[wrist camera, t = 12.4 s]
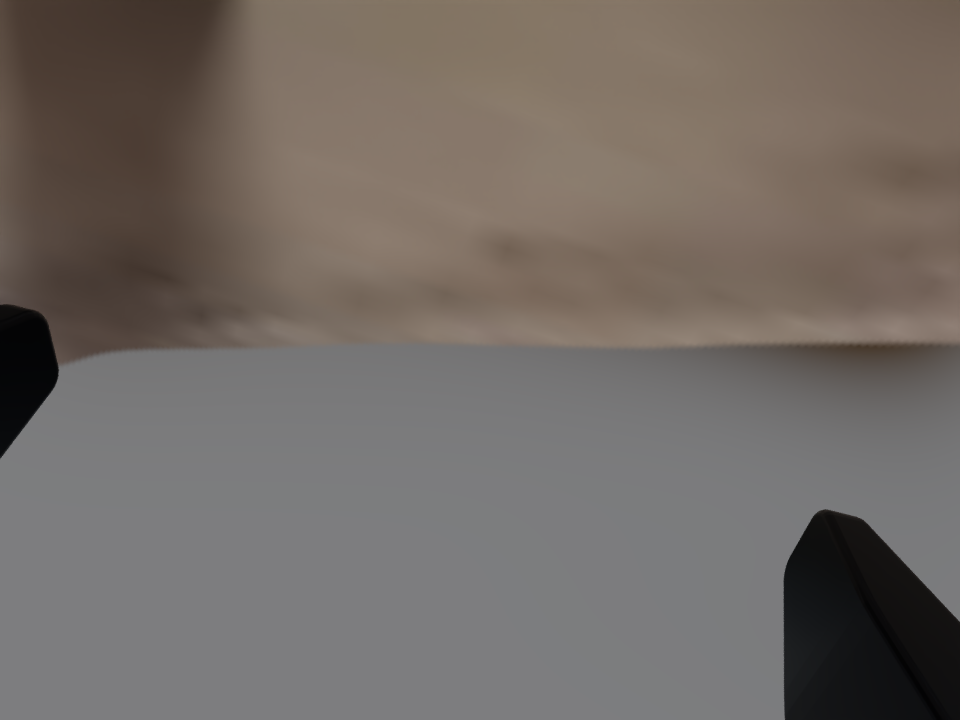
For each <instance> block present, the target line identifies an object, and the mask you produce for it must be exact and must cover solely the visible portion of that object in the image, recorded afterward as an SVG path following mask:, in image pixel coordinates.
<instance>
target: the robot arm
mask: <svg viewBox="0 0 960 720" xmlns="http://www.w3.org/2000/svg"><path fill="white" fill-rule="evenodd" d="M58 372H59V369H58V363H57V359H56V355H55V351H54V346H53V342H52V338H51V334H50V329H49V325H48V322H47V320H46V319H45V317H44V316H43V315H42V314H41V313H39V312H37V311H35V310H31V309H27V308H23V307H19V306H15V305H9V304H3V305H0V458H1V457H2V456H3V454H4V453H5V452H6V451H7V449H8V448H9V446H10V445H11V444H12V443H13V441H14V440H15V439H16V437H17V436H18V435H19V434H20V432H21V431H22V429H23V428H24V427H25V425H26V424H27V423H28V422H29V420H30V419H31V418H32V416H33V415H34V414H35V412H36V411H37V410H38V408H39V407H40V406H41V405H42V403H43V402H44V401H45V399H46V398H47V397H48V395H49V394H50V393H51V391H52V390H53V388H54V387H55V384H56V382H57V379H58ZM784 710H785V720H960V622H959V621H958V620H957V618H956V617H955V616H954V615H953V614H952V613H951V612H950V611H949V610H948V609H947V608H946V607H945V606H944V605H943V604H942V603H941V602H940V600H939V599H938V598H937V597H936V596H935V595H934V594H933V593H932V592H931V591H930V590H929V589H928V588H927V587H926V586H925V584H923V582H922V581H921V580H920V579H919V578H918V577H917V576H916V575H915V574H914V573H913V572H912V571H911V570H910V569H909V568H908V567H907V566H906V564H905V563H904V562H903V561H902V560H901V559H900V558H899V557H898V556H897V555H896V554H895V553H894V552H893V550H891V548H890V547H889V546H888V545H887V544H886V543H885V542H884V541H883V540H882V539H881V538H880V537H879V536H878V535H877V534H876V533H875V531H874V530H873V529H872V528H871V527H870V526H869V525H868V524H867V523H866V522H865V521H864V520H862V519H860V518H858V517H855V516H851V515H847V514H843V513H839V512H835V511H831V510H826V509H825V510H821V511H819V512H817V513H816V514H815V515H814V516H813V518H812V519H811V521H810V523H809V524H808V526H807V528H806V530H805V531H804V533H803V535H802V537H801V538H800V540H799V542H798V544H797V545H796V547H795V549H794V551H793V553H792V554H791V556H790V558H789V560H788V562H787V565H786V569H785V574H784Z"/></svg>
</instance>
